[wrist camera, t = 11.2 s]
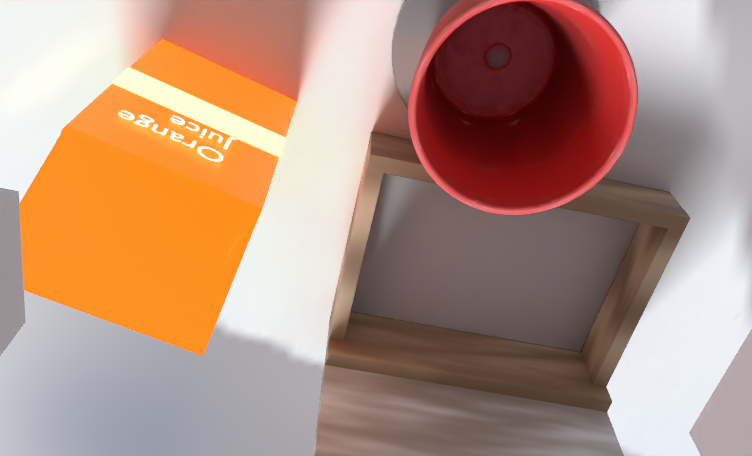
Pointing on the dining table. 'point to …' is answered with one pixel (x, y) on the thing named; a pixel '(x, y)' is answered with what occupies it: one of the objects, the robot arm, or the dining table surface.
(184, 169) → the orange juice
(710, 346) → the dining table surface
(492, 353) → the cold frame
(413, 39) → the slate saucer
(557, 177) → the flower pot
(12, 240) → the robot arm
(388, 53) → the dining table surface
